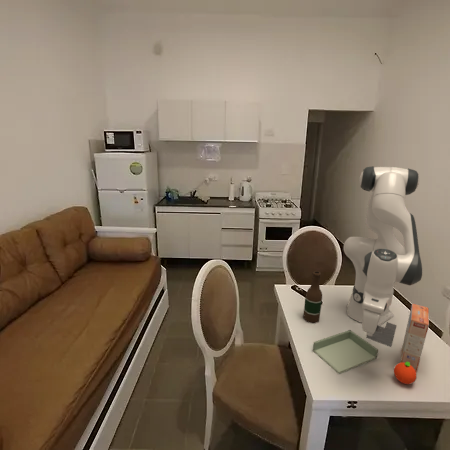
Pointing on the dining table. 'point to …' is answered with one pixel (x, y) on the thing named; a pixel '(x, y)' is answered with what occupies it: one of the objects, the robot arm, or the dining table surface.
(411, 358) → the cracker box
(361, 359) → the tray
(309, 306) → the beer bottle
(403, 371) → the clementine
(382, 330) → the bracket
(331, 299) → the dining table surface
